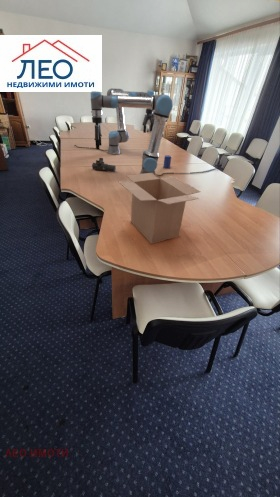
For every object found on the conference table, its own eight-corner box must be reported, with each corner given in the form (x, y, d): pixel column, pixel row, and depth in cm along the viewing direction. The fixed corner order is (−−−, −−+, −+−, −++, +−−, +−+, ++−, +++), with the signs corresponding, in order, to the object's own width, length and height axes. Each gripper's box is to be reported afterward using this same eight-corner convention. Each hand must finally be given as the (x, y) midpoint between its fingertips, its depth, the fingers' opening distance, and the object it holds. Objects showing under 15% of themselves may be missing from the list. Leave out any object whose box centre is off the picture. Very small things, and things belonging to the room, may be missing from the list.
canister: (161, 167, 234) (163, 155, 227) (166, 166, 238) (167, 154, 231) (167, 169, 230) (168, 157, 223) (171, 167, 235) (172, 156, 228)
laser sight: (113, 173, 208) (113, 162, 203) (90, 170, 211) (89, 159, 205) (116, 170, 216) (116, 159, 210) (94, 167, 219) (93, 157, 213)
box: (200, 241, 124) (213, 195, 108) (145, 257, 109) (150, 207, 93) (159, 208, 154) (164, 169, 138) (112, 217, 139) (111, 174, 123)
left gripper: (146, 109, 217) (144, 133, 230) (158, 109, 234) (156, 131, 247) (140, 108, 220) (138, 132, 233) (152, 108, 237) (150, 130, 250)
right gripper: (94, 114, 175) (96, 143, 187) (89, 118, 155) (91, 150, 167) (103, 115, 175) (104, 144, 188) (100, 119, 155) (101, 151, 168)
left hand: (147, 131), depth 240 cm, fingers open, 13 cm apart
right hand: (98, 147), depth 177 cm, fingers open, 13 cm apart
